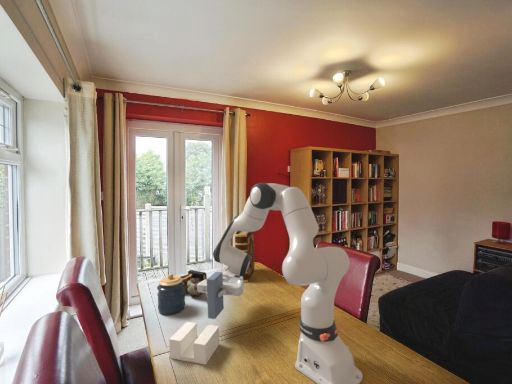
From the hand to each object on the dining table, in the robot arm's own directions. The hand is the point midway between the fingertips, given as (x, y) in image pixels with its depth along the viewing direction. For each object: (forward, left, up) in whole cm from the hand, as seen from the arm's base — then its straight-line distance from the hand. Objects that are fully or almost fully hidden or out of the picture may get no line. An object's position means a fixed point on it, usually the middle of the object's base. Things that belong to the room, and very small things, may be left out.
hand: (212, 294), depth 110 cm
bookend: (+44, -5, -17) cm, 47 cm away
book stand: (-6, +10, -17) cm, 20 cm away
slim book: (+2, -2, -9) cm, 9 cm away
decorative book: (+52, -41, -17) cm, 68 cm away
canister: (+32, +10, -17) cm, 37 cm away
